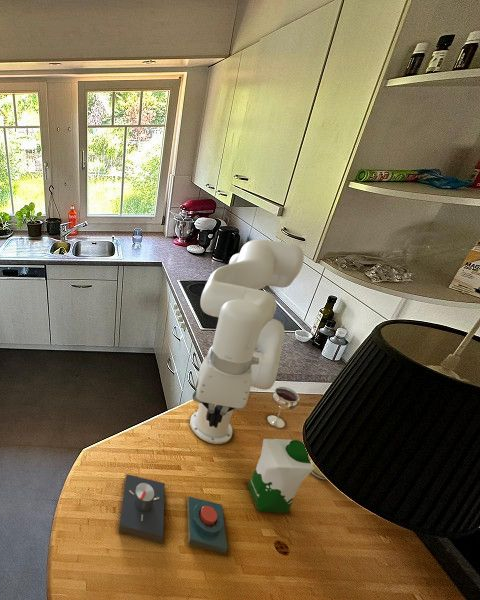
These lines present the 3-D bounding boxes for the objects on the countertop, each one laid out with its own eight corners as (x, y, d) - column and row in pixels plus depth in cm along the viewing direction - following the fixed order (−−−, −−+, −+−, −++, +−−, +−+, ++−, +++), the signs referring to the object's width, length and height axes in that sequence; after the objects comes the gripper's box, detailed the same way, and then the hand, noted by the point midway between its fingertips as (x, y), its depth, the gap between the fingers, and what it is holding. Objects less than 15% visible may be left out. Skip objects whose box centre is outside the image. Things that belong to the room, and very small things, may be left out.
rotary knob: (138, 490, 82) (140, 478, 80) (155, 500, 80) (157, 488, 78) (131, 505, 79) (132, 493, 77) (148, 515, 77) (150, 504, 75)
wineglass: (271, 430, 102) (282, 402, 97) (260, 413, 108) (270, 386, 103) (292, 429, 102) (304, 402, 97) (280, 413, 108) (291, 386, 103)
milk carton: (293, 517, 79) (321, 465, 70) (255, 515, 80) (279, 463, 70) (276, 482, 87) (299, 431, 78) (242, 481, 88) (261, 430, 78)
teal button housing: (187, 501, 83) (189, 492, 81) (220, 509, 81) (223, 500, 79) (188, 544, 74) (191, 534, 72) (225, 554, 73) (229, 545, 71)
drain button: (199, 508, 78) (200, 503, 77) (215, 512, 77) (216, 507, 76) (200, 523, 75) (201, 519, 74) (216, 527, 74) (218, 523, 73)
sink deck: (125, 480, 88) (126, 473, 86) (163, 490, 85) (164, 482, 84) (118, 531, 77) (119, 524, 75) (161, 544, 74) (163, 536, 73)
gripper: (265, 353, 67) (244, 416, 76) (190, 343, 70) (178, 404, 79) (275, 377, 61) (251, 443, 69) (192, 364, 64) (178, 428, 73)
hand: (212, 422), depth 74 cm, fingers closed
